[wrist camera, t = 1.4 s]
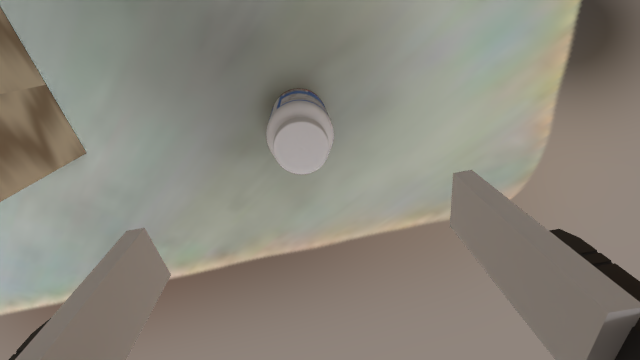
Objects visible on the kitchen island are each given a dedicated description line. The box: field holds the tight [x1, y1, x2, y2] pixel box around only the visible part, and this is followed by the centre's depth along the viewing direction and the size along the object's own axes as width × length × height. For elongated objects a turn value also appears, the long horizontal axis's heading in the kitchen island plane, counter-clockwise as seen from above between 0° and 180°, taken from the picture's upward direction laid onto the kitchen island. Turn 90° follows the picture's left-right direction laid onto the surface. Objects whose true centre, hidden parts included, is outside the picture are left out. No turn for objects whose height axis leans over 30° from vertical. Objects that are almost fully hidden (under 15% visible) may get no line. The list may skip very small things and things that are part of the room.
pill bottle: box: [266, 89, 334, 174], centre depth 24 cm, size 6×5×10 cm
